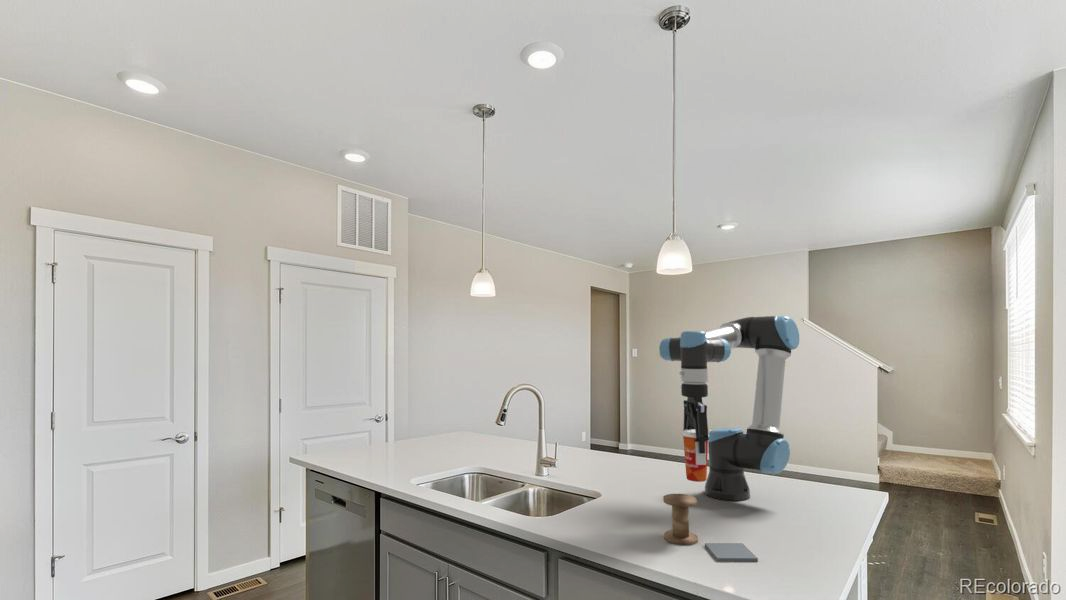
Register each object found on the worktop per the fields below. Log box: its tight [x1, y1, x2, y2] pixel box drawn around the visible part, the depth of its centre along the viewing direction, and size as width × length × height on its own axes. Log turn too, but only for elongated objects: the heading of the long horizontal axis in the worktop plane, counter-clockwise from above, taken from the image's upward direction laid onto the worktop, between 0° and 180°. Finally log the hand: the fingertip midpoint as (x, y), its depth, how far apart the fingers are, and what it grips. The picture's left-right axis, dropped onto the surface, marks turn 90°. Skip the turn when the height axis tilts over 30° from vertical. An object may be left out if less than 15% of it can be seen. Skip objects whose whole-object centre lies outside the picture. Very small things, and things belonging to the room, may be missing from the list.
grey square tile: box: [704, 542, 759, 563], centre depth 138 cm, size 10×10×1 cm
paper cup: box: [681, 429, 709, 483], centre depth 158 cm, size 8×8×14 cm
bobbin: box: [662, 493, 699, 546], centre depth 149 cm, size 9×9×11 cm
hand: (696, 461), depth 158 cm, fingers closed on paper cup, 8 cm apart
